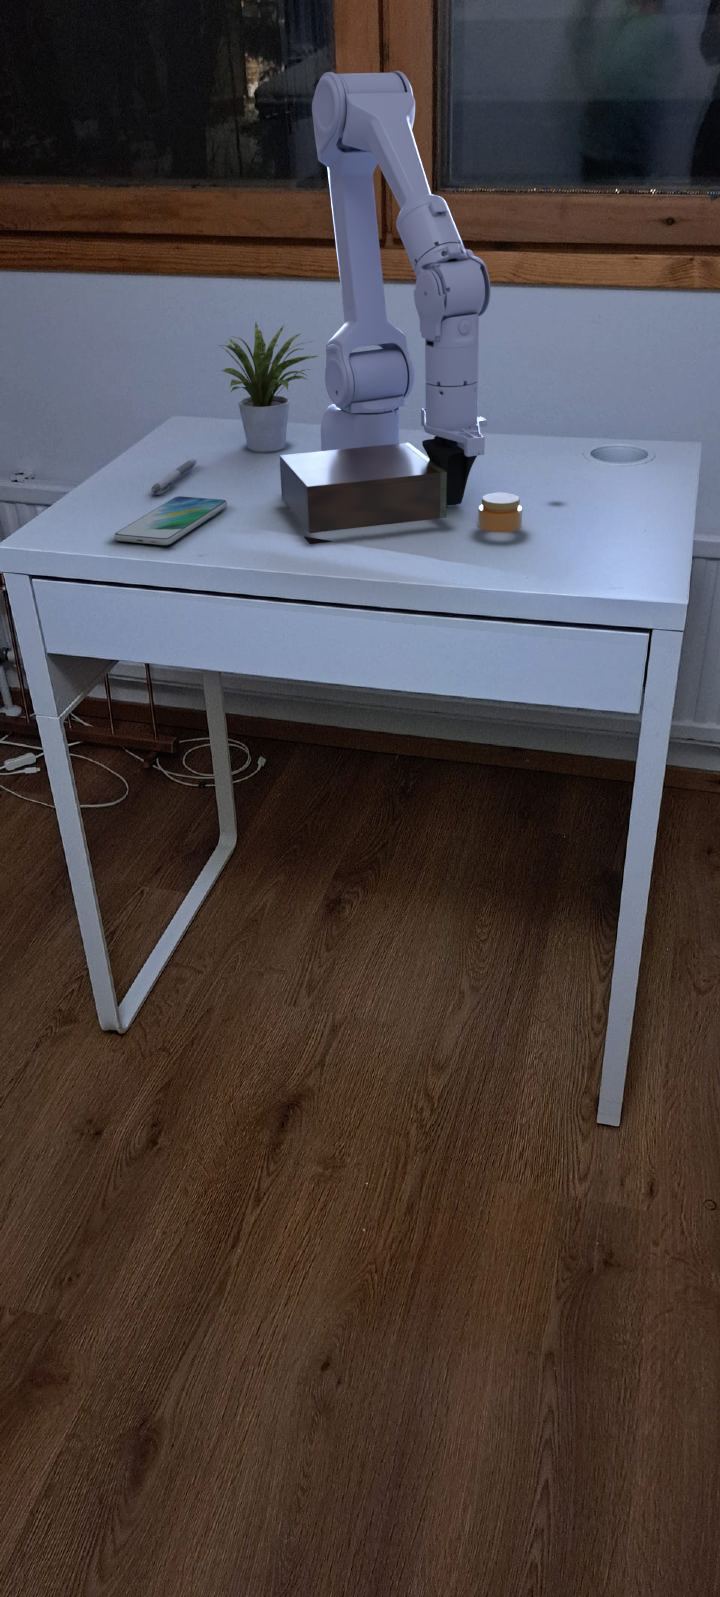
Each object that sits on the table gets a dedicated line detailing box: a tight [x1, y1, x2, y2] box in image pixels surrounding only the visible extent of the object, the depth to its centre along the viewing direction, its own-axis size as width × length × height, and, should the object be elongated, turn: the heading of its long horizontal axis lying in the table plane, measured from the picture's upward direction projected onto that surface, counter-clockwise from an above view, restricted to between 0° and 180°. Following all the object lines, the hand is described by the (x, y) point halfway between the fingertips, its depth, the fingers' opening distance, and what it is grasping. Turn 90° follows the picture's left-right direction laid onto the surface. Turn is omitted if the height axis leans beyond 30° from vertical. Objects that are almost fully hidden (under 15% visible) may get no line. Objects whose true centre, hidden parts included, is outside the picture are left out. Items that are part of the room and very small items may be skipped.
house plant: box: [219, 322, 319, 453], centre depth 157 cm, size 14×14×16 cm
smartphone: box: [113, 496, 228, 546], centre depth 134 cm, size 7×1×15 cm
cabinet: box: [279, 442, 441, 545], centre depth 133 cm, size 15×13×6 cm
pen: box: [150, 458, 197, 495], centre depth 148 cm, size 1×14×1 cm, turn 164°
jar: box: [477, 492, 523, 533], centre depth 127 cm, size 5×5×4 cm
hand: (451, 503), depth 134 cm, fingers closed, pressing on drawer
